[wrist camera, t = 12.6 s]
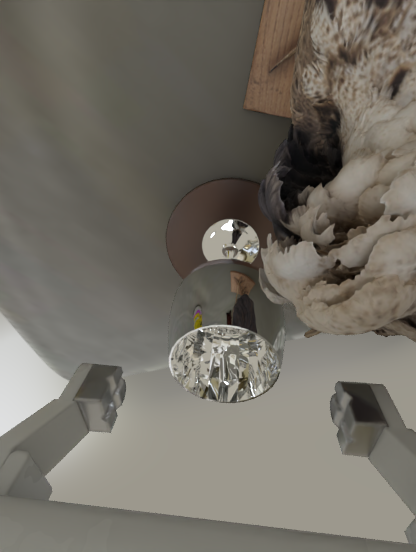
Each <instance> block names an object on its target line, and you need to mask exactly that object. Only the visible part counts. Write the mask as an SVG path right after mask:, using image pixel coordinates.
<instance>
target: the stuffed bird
mask: <svg viewBox="0 0 416 552" xmlns="http://www.w3.org/2000/svg"><path fill="white" fill-rule="evenodd" d="M243 108H244V109H248V110H252V111H257V112H262V113H267V114H272V115H277V116H282V117H287V118H292V124H291V126H290V129H289V132H288V140H286V139H285V140H284V141H283V143H281V145H280V146H279V148H278V149H277V150H276V153H275V157H274V164H273V168H271V169H270V170H269V171H268V173H267V175H266V179H263V180H262V181H261V184H260V188H259V191H258V203H259V206H260V209H261V211H262V213H263V214H264V216H265V217H266V218H267V219H268V220H269V221H271V222H272V225H273V229H274V233H275V236H276V238H277V240H276V241H275V242H274V243H273V244H272V240H271V234H268V237H267V245H268V248H267V249H263V248H261V257H262V260H263V263H264V269H262V268H259V282H260V286H261V289H262V290H263V292H264V293H265V294H266V296H267V298H269V300H270V301H272V302H273V303H276V304H287V303H291V302H293V304H294V306H295V308H296V312H297V317H298V318H299V319H300V320H302V321H303V322H304V323H305V324H306V325H308V327H310V328H312V329H311V330H309V331H308V332H306V333H305V335H304V336H305V337H307V338H309V337H312V336H314V335H317V334H319V333H321V332H323V333H327V334H335V335H354V334H363V333H366V332H369V331H374V332H375V333H376V334H377V335H381V336H382V335H383V336H385V337H387V336H390V335H391V336H395V335H403V336H407V337H408V338H409V339H411V340H413V341H414V342H416V0H265V2H264V7H263V12H262V17H261V22H260V27H259V32H258V37H257V42H256V47H255V52H254V57H253V62H252V67H251V72H250V77H249V81H248V86H247V92H246V96H245V101H244V106H243Z"/></svg>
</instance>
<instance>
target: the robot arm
mask: <svg viewBox="0 0 416 552" xmlns="http://www.w3.org/2000/svg"><path fill="white" fill-rule="evenodd" d="M122 373H123V371H122V368H121V367H119V366H109V365H99V364H87V363H82V364H81V365H80V366H79V367H78V369H77V370H76V372H75V373H74V375H73V377H72V378H71V380H70V381H69V383H68V385H67V386H66V388H65V389H64V391H63V393H62V394H61V396H60V397H59V399H54V400H53V401H51V402H50V403H48V404H47V405H46V406H44V407H43V408H41V409H40V410H38V411H37V412H36V413H34V414H33V415H31V416H30V417H28V418H27V419H25V420H24V421H22V422H21V423H20V424H18V425H17V426H15V427H14V428H13V429H11V430H10V431H8V432H7V433H5V434H4V435H2V436H1V437H0V552H416V518H415V519H414V520H413V521H412V522H411V524H410V525H409V526H408V527H407V529H406V531H405V534H406V537H407V540H408V542H409V544H408V543H400V542H391V541H382V540H375V539H366V538H358V537H350V536H341V535H333V534H325V533H316V532H308V531H299V530H291V529H283V528H274V527H266V526H258V525H249V524H241V523H232V522H224V521H216V520H207V519H199V518H190V517H183V516H174V515H166V514H157V513H149V512H140V511H132V510H124V509H115V508H107V507H99V506H91V505H82V504H73V503H65V502H57V501H49V500H48V499H49V497H50V495H51V493H52V487H51V486H50V484H49V483H48V481H47V479H46V478H45V475H47V473H49V471H51V469H52V468H54V467H55V466H56V465H57V464H58V463H59V462H60V461H61V460H62V459H63V458H64V457H65V456H66V455H67V453H69V452H70V451H71V450H72V449H73V448H74V447H75V446H76V445H77V444H78V443H79V442H80V441H81V440H82V439H83V438H84V437H85V436H86V435H87V434H88V433H89V431H95V432H109V433H111V430H112V428H113V426H114V423H115V421H116V418H117V412H116V409H117V408H119V407H120V406H121V405H122V403H123V400H124V397H125V392H126V384H125V380H124V379H123V378H122V377H121V376H122ZM335 391H336V394H334V395H333V396H332V398H331V401H330V410H331V417H332V420H333V423H334V424H335V425H336V426H337V427H338V428H339V430H338V433H337V438H338V441H339V445H340V448H341V451H342V454H345V455H353V456H361V457H369V458H368V459H369V460H370V462H371V463H372V464H373V465H374V467H375V468H376V469H377V470H378V471H379V473H380V474H381V475H382V476H383V477H384V478H385V480H386V481H387V482H388V484H389V485H390V486H391V487H392V488H393V490H394V491H395V492H396V493H397V494H398V496H399V497H400V498H401V499H402V501H403V502H404V503H405V504H406V505H407V506H408V508H409V509H410V510H411V512H412V513H413V514H414V515H415V516H416V432H414V431H413V430H412V429H407V428H406V426H405V424H404V422H403V420H402V418H401V416H400V414H399V412H398V410H397V409H396V407H395V405H394V403H393V401H392V399H391V397H390V395H389V393H388V391H387V389H386V387H385V386H384V385H382V384H369V383H358V382H340V381H338V382H337V383H336V386H335Z"/></svg>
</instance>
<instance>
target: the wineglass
mask: <svg viewBox="0 0 416 552" xmlns="http://www.w3.org/2000/svg"><path fill="white" fill-rule="evenodd" d="M259 246H260V244H259V238H258V236H257V233H256V232H255V230H254V229H253V228H252V227H251V226H250V225H249V224H247V223H246V222H244V221H241V220H238V219H224V220H220V221H218V222H216V223H214V224H213V225H211V226H210V227H209V228H208V229H207V230H206V232H205V234H204V236H203V239H202V251H203V254H204V256H205V258H206V259H207V261H208V262H205V263H203V264H201V265H199V266H198V267H196V268H195V269H194V270H192V271H191V272H190V273H189V274H188V275H187V276H186V277H185V278H184V280H183V281H182V283H181V284H180V286H179V287H178V289H177V291H176V293H175V296H174V299H173V302H172V306H171V310H170V315H169V322H168V357H169V367H170V370H171V372H172V375H173V377H174V378H175V380H176V381H177V382H178V383H179V384H180V385H181V386H182V387H183V388H184V389H185V390H187V391H188V392H190V393H192V394H194V395H195V396H198V397H200V398H202V399H206V400H210V401H214V402H221V403H236V402H244V401H247V400H251V399H254V398H256V397H258V396H260V395H262V394H264V393H265V392H267V391H268V390H269V389H270V388H271V387H273V385H274V384H275V382H276V381H277V379H278V377H279V373H280V370H281V364H282V358H283V351H284V343H285V318H284V310H283V305H282V304H276V303H273V302H272V301H270V300H269V298H267V296H266V294H265V293H264V292H263V290H262V289H261V286H260V282H259V268H258V267H256V266H255V265H253V264H251V263H252V262H253V261H254V260H255V258H256V257H257V255H258V252H259Z"/></svg>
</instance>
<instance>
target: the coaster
mask: <svg viewBox="0 0 416 552" xmlns="http://www.w3.org/2000/svg"><path fill="white" fill-rule="evenodd" d="M259 188H260V184H258V183H255V182H252V181H249V180H245V179H239V178H222V179H217V180H212V181H209V182H207V183H204V184H202V185H200V186H198V187H196V188H195V189H193V190H192V191H190V192H189V193H188V194H187V195H186V196H184V197H183V198H182V200H181V201H180V202H179V203H178V205H177V206H176V208H175V209H174V211H173V213H172V215H171V217H170V219H169V222H168V226H167V232H166V246H167V252H168V255H169V258H170V260H171V262H172V265H173V266H174V268H175V270H176V271H177V272H178V274H179V275H180V276H181V277H182V278H183V279H184V278H185V277H186V276H187V275H188V274H189V273H190V272H191V271H192V270H194V269H195V268H196V267H198V266H199V265H201V264H203V263H205V262H208V261H207V259H206V258H205V256H204V254H203V251H202V239H203V236H204V234H205V232H206V230H207V229H208V228H209V227H210V226H211V225H213V224H214V223H216V222H218V221H220V220H224V219H238V220H241V221H244V222H246V223H247V224H249V225H250V226H251V227H252V228H253V229H254V230H255V232H256V233H257V236H258V238H259V244H260V246H259V252H258V255H257V257H256V258H255V260H254V261H253V262H252V263H251V264H253V265H255V266H256V267H258V268H262V269H264V263H263V260H262V257H261V248H263V249H267V248H268V245H267V237H268V234H271V240H272V244H273V243H274V242H275V241H276V240H277V238H276V236H275V233H274V229H273V225H272V222H271V221H269V220H268V219H267V218H266V217H265V216H264V214H263V213H262V211H261V209H260V206H259V203H258V191H259Z"/></svg>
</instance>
